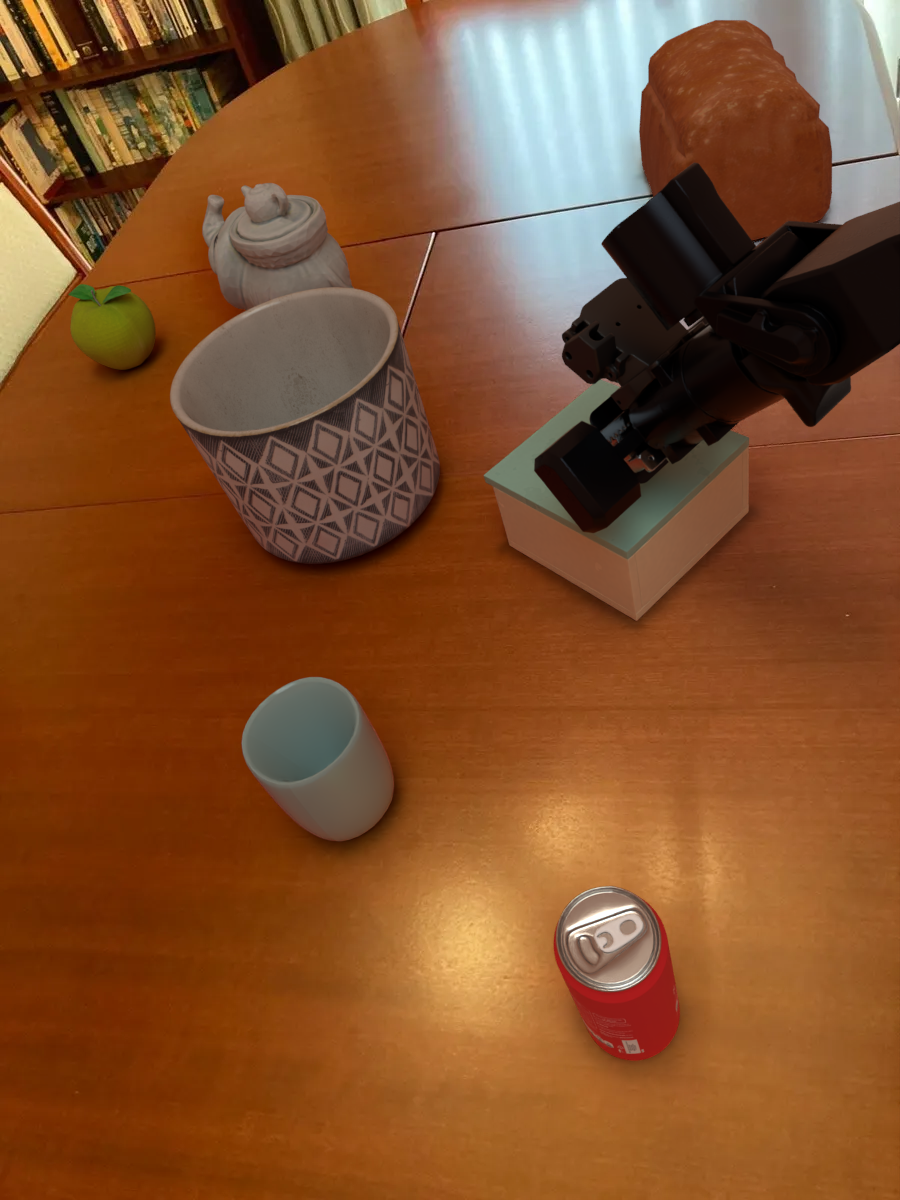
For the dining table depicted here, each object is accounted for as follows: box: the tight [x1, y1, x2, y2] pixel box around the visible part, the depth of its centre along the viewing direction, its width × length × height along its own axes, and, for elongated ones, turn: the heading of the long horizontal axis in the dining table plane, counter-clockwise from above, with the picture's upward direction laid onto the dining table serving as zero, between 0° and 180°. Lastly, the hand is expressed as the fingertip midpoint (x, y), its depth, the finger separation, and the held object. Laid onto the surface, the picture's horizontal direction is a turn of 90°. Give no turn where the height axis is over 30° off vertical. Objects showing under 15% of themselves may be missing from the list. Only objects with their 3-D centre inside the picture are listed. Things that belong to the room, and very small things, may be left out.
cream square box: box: [492, 446, 750, 622], centre depth 69 cm, size 14×14×7 cm
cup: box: [240, 676, 395, 842], centre depth 58 cm, size 8×8×10 cm
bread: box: [638, 19, 833, 241], centre depth 96 cm, size 17×24×15 cm
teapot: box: [201, 182, 354, 311], centre depth 97 cm, size 16×15×19 cm
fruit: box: [67, 283, 157, 371], centre depth 107 cm, size 9×9×10 cm
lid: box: [483, 379, 750, 559], centre depth 66 cm, size 14×14×1 cm
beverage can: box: [553, 885, 681, 1062], centre depth 44 cm, size 5×5×12 cm
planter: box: [169, 287, 441, 565], centre depth 76 cm, size 19×19×16 cm
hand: (602, 450), depth 66 cm, fingers closed, pressing on lid
